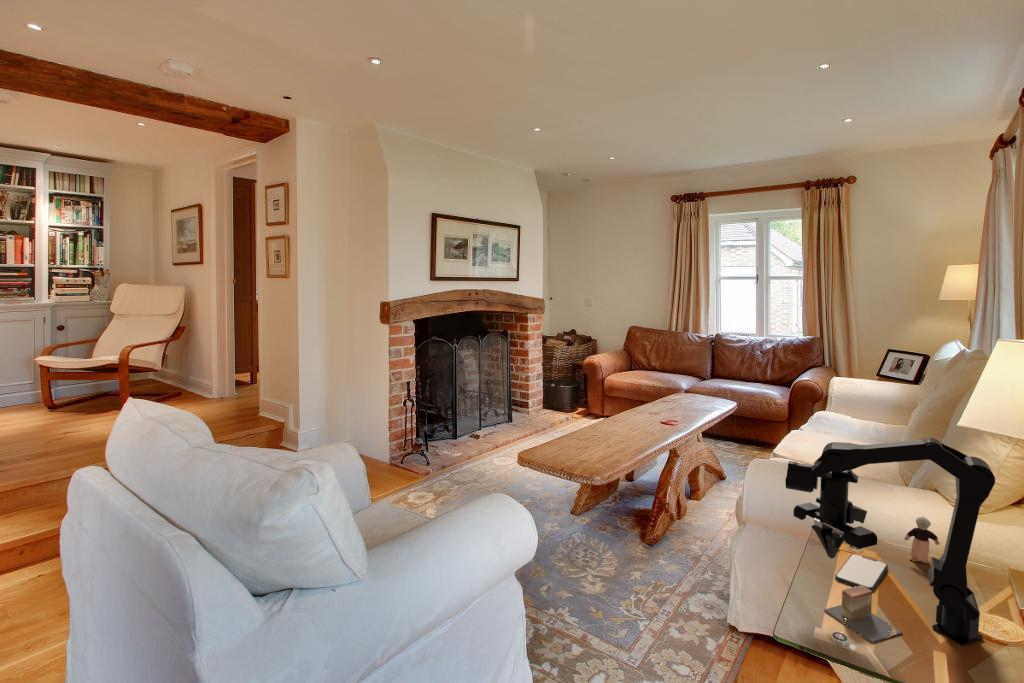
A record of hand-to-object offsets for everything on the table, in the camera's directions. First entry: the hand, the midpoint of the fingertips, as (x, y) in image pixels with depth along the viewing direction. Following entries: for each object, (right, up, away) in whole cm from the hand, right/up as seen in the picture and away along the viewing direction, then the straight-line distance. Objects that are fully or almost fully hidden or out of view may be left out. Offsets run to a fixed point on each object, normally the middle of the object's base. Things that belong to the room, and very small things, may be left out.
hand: (831, 557), depth 130 cm
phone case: (+15, -10, +12) cm, 22 cm away
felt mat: (+3, -12, -7) cm, 14 cm away
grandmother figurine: (+35, -8, +17) cm, 40 cm away
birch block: (+3, -11, -5) cm, 13 cm away
